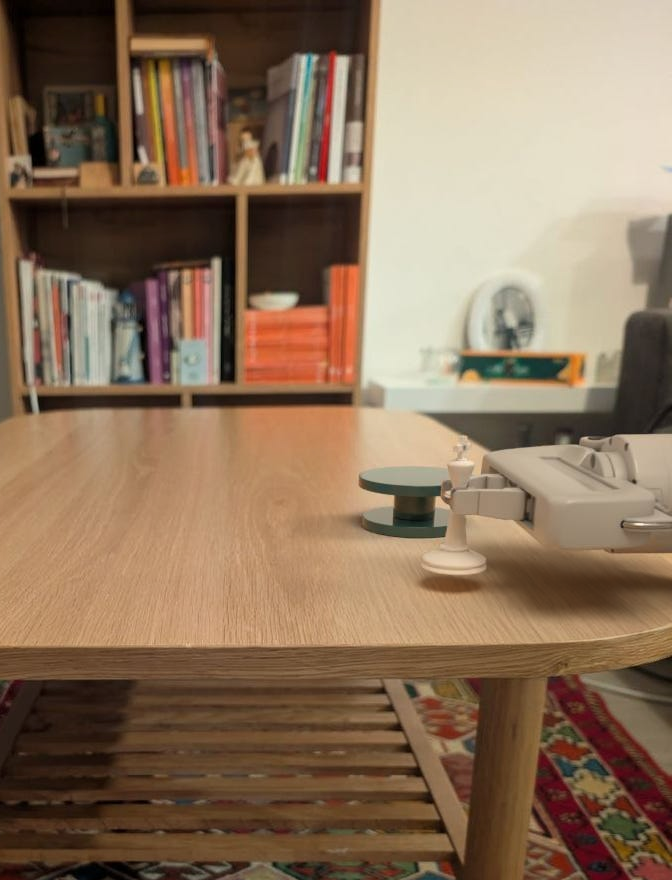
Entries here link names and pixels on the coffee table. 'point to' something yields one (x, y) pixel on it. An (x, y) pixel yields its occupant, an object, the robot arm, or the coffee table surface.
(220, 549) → the coffee table surface
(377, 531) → the stand
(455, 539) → the chess piece
